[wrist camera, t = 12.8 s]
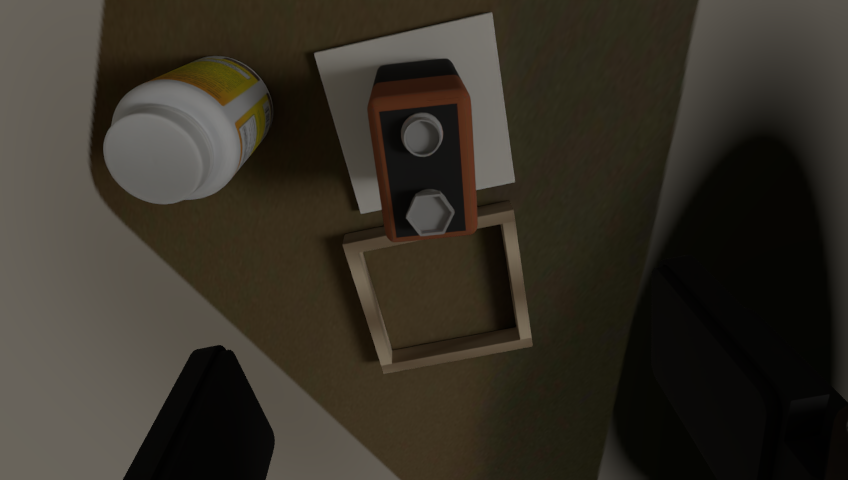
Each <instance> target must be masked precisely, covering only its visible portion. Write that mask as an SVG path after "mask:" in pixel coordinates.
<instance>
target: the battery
mask: <svg viewBox="0 0 848 480" xmlns="http://www.w3.org/2000/svg"><path fill="white" fill-rule="evenodd" d="M367 112H368V120H369V127H370V134H371V141H372V147H373V154H374V161H375V167H376V174H377V181H378V187H379V194H380V201H381V208H382V214H383V221H384V227H385V233H386V236H387V238H388V239H389V240H390V241H391V242H406V241H416V240H425V239H435V238H445V237H454V236H464V235H470V234H473V233H474V232H475V231H476V229H477V226H478V216H477V198H476V180H475V162H474V144H473V126H472V108H471V99H470V95H469V93H468V91H467V89H466V87H465V85H464V84H463V82H462V80H461V78H460V76H459V74H458V73H457V71H456V69H455V67H454V65H453V63H452V62H451V61H450V60H449V59H446V58H444V59H434V60H425V61H416V62H406V63H397V64H388V65H382V66H380V67H379V68H378V70H377V73H376V77H375V80H374V84H373V88H372V91H371V95H370V99H369V102H368V107H367Z"/></svg>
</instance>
